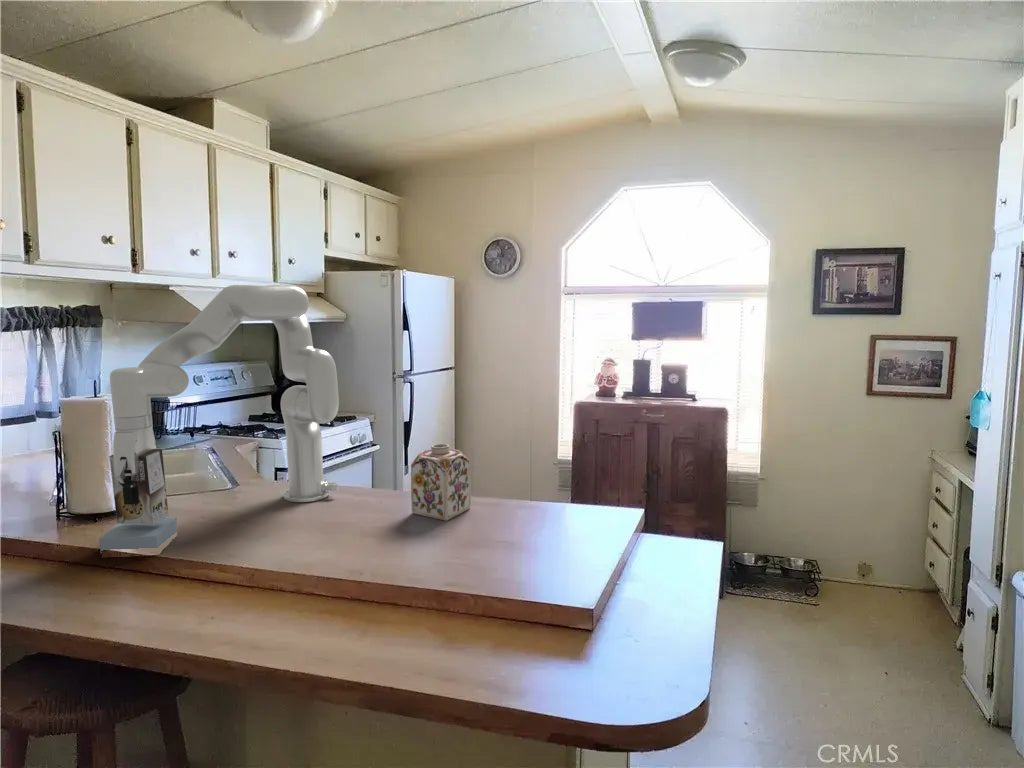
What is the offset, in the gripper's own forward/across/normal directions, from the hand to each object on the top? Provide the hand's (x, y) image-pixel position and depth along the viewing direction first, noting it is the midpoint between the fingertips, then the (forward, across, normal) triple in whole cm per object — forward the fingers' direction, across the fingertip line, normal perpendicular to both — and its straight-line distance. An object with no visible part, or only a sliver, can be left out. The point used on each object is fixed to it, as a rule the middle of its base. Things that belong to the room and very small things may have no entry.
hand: (140, 497), depth 158 cm
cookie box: (+5, 0, 0) cm, 5 cm away
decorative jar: (+12, -25, +66) cm, 71 cm away
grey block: (+12, +1, -1) cm, 12 cm away
